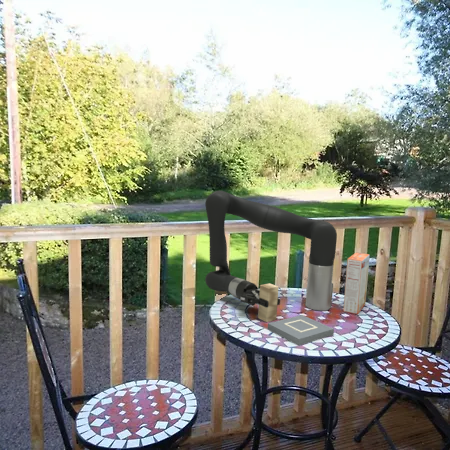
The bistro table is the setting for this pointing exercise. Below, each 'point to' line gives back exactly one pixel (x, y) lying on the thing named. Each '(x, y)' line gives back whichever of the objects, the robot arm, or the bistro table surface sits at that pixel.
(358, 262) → the cracker box
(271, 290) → the maple block
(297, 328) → the grey rectangular slab
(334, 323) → the bistro table surface
